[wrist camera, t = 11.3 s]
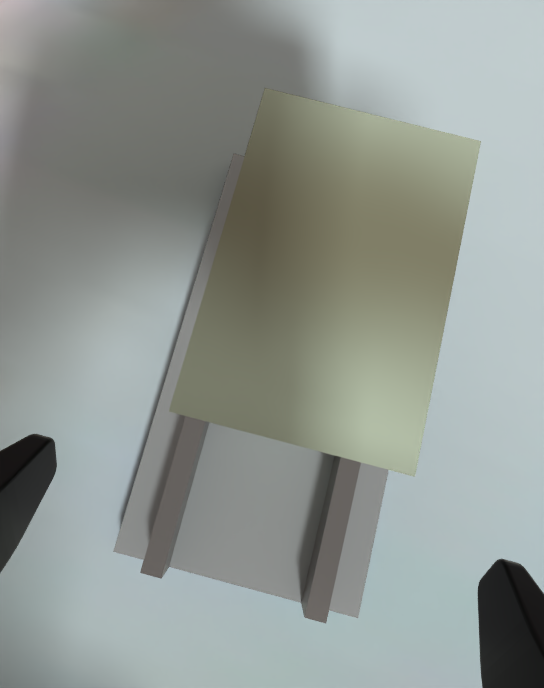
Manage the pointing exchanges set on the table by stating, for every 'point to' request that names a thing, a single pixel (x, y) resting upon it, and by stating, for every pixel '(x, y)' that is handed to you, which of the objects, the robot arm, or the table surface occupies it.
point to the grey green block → (331, 283)
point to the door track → (249, 496)
